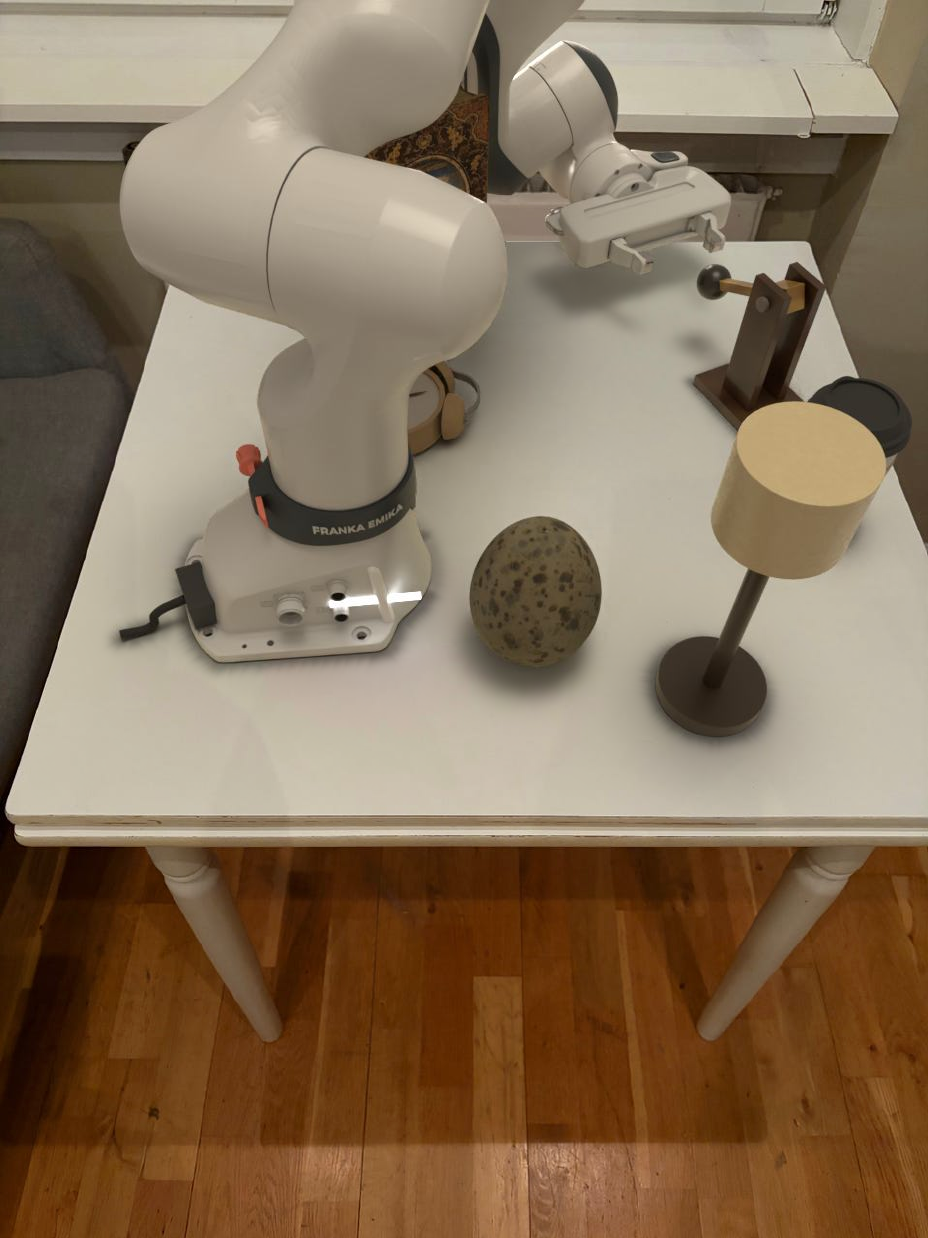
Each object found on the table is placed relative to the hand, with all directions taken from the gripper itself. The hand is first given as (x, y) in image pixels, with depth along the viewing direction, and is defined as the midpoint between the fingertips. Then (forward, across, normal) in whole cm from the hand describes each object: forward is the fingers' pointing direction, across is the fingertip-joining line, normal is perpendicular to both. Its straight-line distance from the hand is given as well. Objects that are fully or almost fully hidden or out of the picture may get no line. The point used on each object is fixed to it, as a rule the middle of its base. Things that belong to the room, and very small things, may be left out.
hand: (683, 256), depth 103 cm
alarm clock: (+2, -34, +9) cm, 35 cm away
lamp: (+43, -25, +8) cm, 51 cm away
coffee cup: (+32, -5, +8) cm, 33 cm away
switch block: (+15, 0, +8) cm, 17 cm away
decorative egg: (+32, -36, +9) cm, 49 cm away
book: (-12, -28, +8) cm, 31 cm away
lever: (+11, 0, -1) cm, 11 cm away
